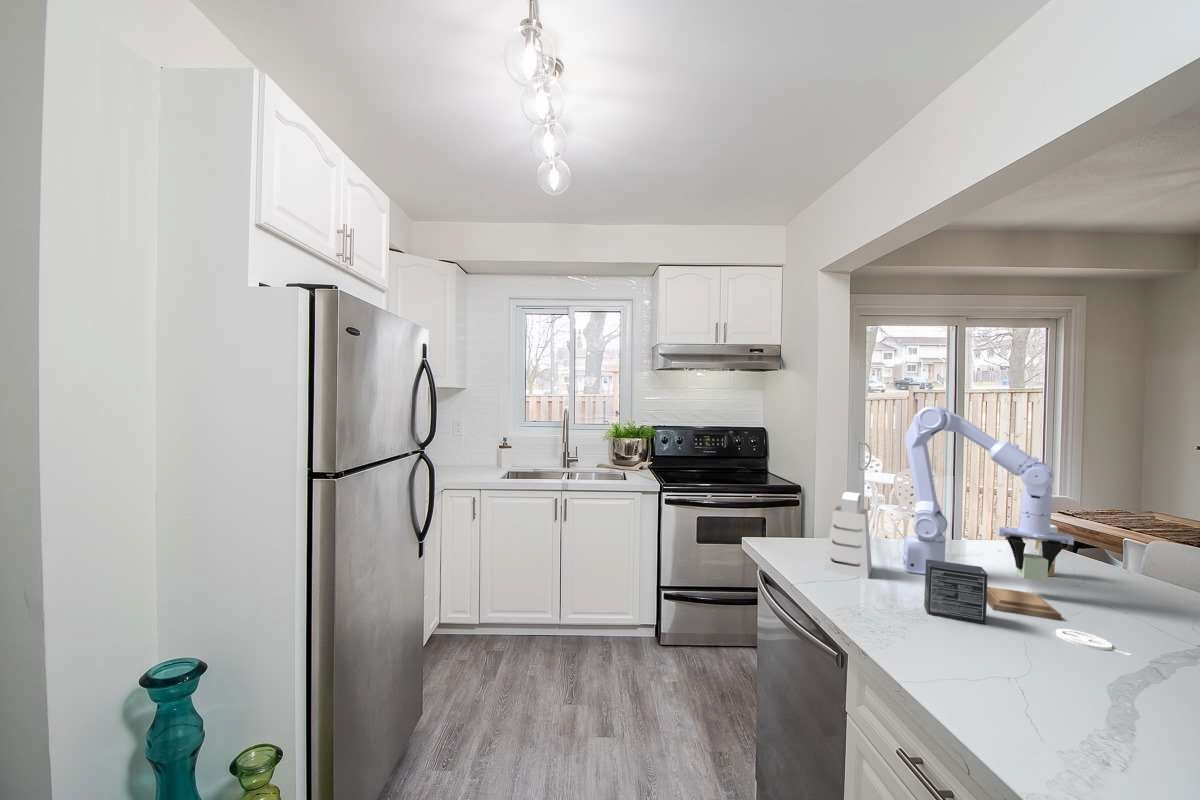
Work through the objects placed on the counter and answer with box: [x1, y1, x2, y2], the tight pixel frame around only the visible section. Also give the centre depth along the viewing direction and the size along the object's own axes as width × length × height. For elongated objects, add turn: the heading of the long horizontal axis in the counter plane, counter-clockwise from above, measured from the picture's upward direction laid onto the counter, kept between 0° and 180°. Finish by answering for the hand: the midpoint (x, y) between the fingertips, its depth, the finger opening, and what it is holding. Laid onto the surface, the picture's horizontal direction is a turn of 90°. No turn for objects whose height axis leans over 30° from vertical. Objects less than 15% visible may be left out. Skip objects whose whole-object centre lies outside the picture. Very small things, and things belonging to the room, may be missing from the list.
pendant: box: [1055, 628, 1132, 657], centre depth 103 cm, size 7×11×1 cm, turn 37°
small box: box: [923, 559, 989, 625], centre depth 115 cm, size 11×6×10 cm, turn 65°
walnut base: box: [987, 586, 1062, 621], centre depth 122 cm, size 12×12×2 cm
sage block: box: [1016, 552, 1048, 582], centre depth 129 cm, size 4×4×5 cm
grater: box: [823, 491, 873, 579], centre depth 143 cm, size 10×10×20 cm
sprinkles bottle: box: [1034, 523, 1059, 577], centre depth 146 cm, size 5×5×14 cm
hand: (1031, 569), depth 129 cm, fingers closed on sage block, 4 cm apart
